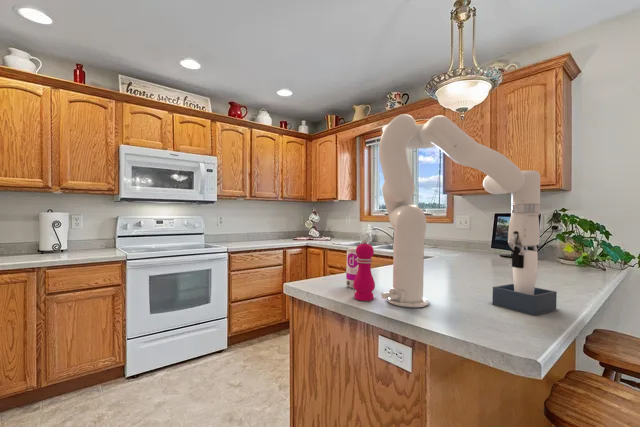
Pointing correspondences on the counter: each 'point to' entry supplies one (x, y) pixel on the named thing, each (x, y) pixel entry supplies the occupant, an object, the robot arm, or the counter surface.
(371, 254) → the pepper mill
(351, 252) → the supplement can
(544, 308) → the tub
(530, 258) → the drinking glass
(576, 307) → the counter surface
